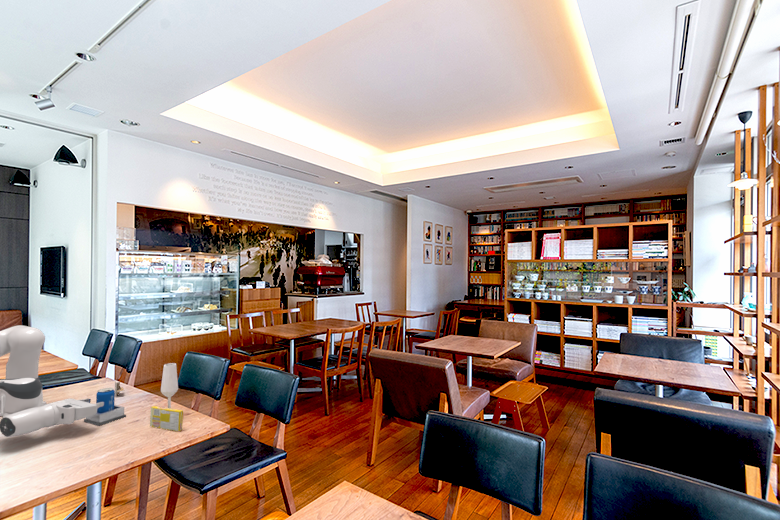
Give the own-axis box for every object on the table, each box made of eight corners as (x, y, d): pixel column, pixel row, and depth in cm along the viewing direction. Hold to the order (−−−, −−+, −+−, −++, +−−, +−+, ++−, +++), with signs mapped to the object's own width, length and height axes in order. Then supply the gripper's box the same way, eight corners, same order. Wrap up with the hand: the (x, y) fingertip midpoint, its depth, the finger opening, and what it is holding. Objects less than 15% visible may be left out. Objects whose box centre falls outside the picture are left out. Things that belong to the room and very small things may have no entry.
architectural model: (122, 394, 204) (122, 380, 205) (124, 397, 199) (124, 383, 199) (114, 395, 202) (114, 381, 202) (116, 398, 197) (116, 384, 197)
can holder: (83, 421, 166) (83, 411, 166) (110, 413, 176) (111, 403, 176) (98, 426, 162) (99, 415, 162) (125, 417, 172) (126, 406, 172)
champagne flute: (161, 423, 165) (163, 367, 165) (158, 418, 170) (159, 364, 170) (179, 419, 169) (180, 364, 170) (175, 415, 174) (176, 361, 175)
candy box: (183, 430, 158) (183, 410, 158) (178, 432, 156) (179, 411, 156) (153, 424, 163) (154, 405, 164) (149, 426, 161) (149, 407, 162)
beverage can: (103, 420, 165) (104, 392, 165) (91, 419, 166) (92, 391, 167) (117, 415, 171) (118, 388, 171) (106, 413, 173) (106, 386, 173)
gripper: (43, 416, 157) (81, 405, 169) (71, 425, 148) (110, 412, 161) (43, 400, 157) (82, 391, 170) (72, 408, 149) (110, 397, 161)
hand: (96, 401), depth 165 cm, fingers open, 8 cm apart
